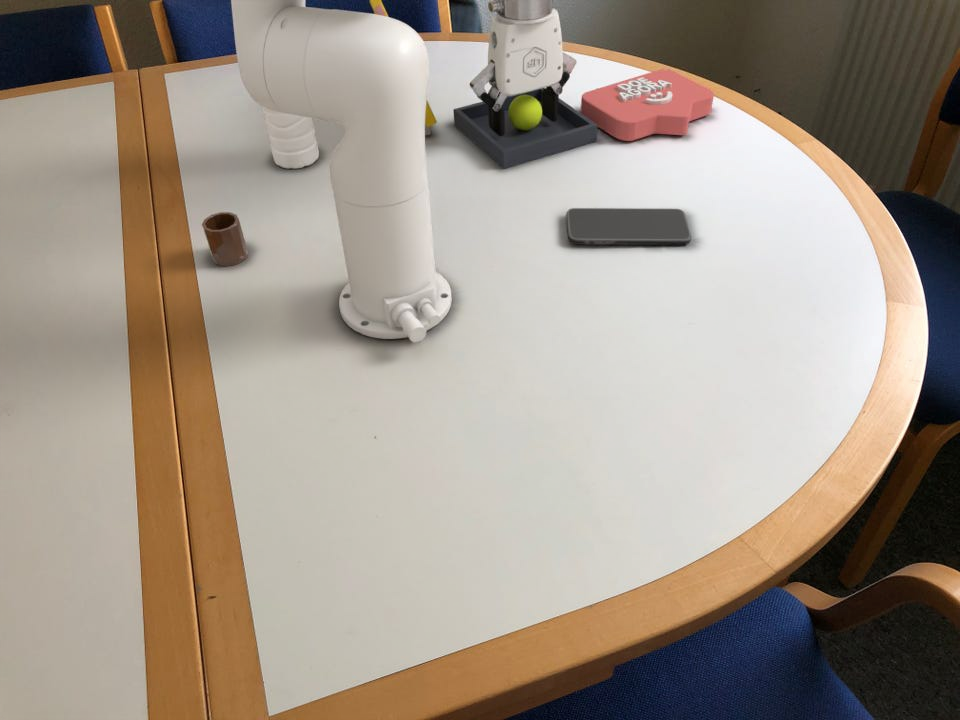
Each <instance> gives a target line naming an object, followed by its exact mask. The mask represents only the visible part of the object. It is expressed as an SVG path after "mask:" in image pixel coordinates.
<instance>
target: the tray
mask: <svg viewBox="0 0 960 720" xmlns="http://www.w3.org/2000/svg"><path fill="white" fill-rule="evenodd" d="M543 89H544V88H542V89H538V90H534V91H530V92H526V93H522V94H519V95H514V96H507V97H506V99H505V101H504V103H503V105H502V107H501V108H502V109H503V110H504V112H505V134H504V135H503V136H499V135H498V134H496V133H495V132H494V131H493V130H492V129H491V128H490V127H489V115H488V105H487V104H485V103H484V102H483V101H479V102H476V103H471V104H469V105H464V106H460V107H457V108H454V109H453V126H455V128H457V129H458V130H459V131H460V132H461V133H462V134H463V135H465V137H467V138H468V139H469V140H470V141H472V142H473V143H474V144H475V145H476V146H477V147H478V148H479V149H481V151H483V152H484V153H485V154H486V155H487V156H488V157H490V158H491V159H492V160H493V161H494V162H495V163H496V164H497V165H499V166H500V167H501V168H502V169H503V170H504V169H505V170H506V169H508V168H511V167H515V166H519V165H521V164H525V163H528V162H531V161H535V160H538V159H542V158H545V157H549V156H552V155H556V154H558V153H559V154H560V153H563V152H565V151H566V152H567V151H569V150H572V149H577V148H578V147H579V148H580V147H582V146H585V145H590V144H592V143H595V142H597V140H598V138H597V137H598V128H599V127H598V125H597V124H596V123H594V122H593V121H591V120H590V119H588V118H587V117H585V116H584V115H583V114H581V111H578V109H575V108H574V107H572V106H571V105H570V104H569V103H567V102H565V100H562V99H561V98H559V100H558V112H557V120H556V121H554V122H552V121H551V120H549V119H548V118H547V117H545V116H544V115H543V114H542V117H541V120H540V122H539V123H538V125H537V126H535V127H534V128H532V129H530V130H520V129H517V128H516V127H514V126H513V125H512V123H511V122H510V119H509V116H508V110H509V106H510V104H511V102H512V101H513V100H514V99H515V98H517V97H518V96H521V95H530V96H533V97H534V98H536V99H537V100H538V101H539V103H540V105H541V107H542V92H543ZM495 99H496V98H495Z"/></svg>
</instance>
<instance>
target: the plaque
mask: <svg viewBox="0 0 960 720" xmlns="http://www.w3.org/2000/svg"><path fill="white" fill-rule="evenodd" d="M714 97H715V92H714V91H713V90H712V89H711V88H708V87H706V86H704V85H702V84H700V83H699V82H696V81H694V80H692V79H690V78H688V77H686V76H684V75H682V74H680V73H678V72H677V71H674V70H671V69H656V70H654V71H651V72H648V73H643V74H641V75H638V76H634V77H631V78H628V79H625V80H621V81H618V82H614V83H611V84H608V85H605V86H601V87H598V88H595V89H592V90H588V91H586V92H584V93H583V94H582V95H581V101H580V113H581V114H583V115H584V116H585V117H587V118H588V119H590V120H591V121H593V122H594V123H596V124H597V125H598V128H599V129H600V130H602V131H604V132H605V133H607V134H609V135H610V136H612V137H614V138H616V139H618V140H620V141H625V142H632V141H635V140H639V139H642V138H645V137H648V136H651V135H654V134H657V135H658V134H659V135H673V136H685V135H687V134H688V132H689V125H690V122H692V121H694V120H698V119H700V118H704V117H706V116H709V115H710V114H711V113H712V109H713V108H712V107H713V102H714Z"/></svg>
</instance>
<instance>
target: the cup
mask: <svg viewBox="0 0 960 720" xmlns="http://www.w3.org/2000/svg"><path fill="white" fill-rule="evenodd" d="M201 227H202V230H203V233H204V236H205V239H206V243H207V246H208V250H209V252H210V255H211V257H212V261H213V262H214V264H216V265H218V266H221V267H231V266H236V265H238V264H241V263H242V262H243V261H245V260H246V259H247V257H248V255H249V252H248V246H247V243H246V238H245V237H244V236H245V235H244V233H243V229H242V225H241V221H240V218H239V217H238V214H235V213H234V212H229V211H220V212H218V213H217V212H216V213H213V214H210V215H209V216H207V217H205V218H204V219H203V221H202V223H201Z"/></svg>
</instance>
